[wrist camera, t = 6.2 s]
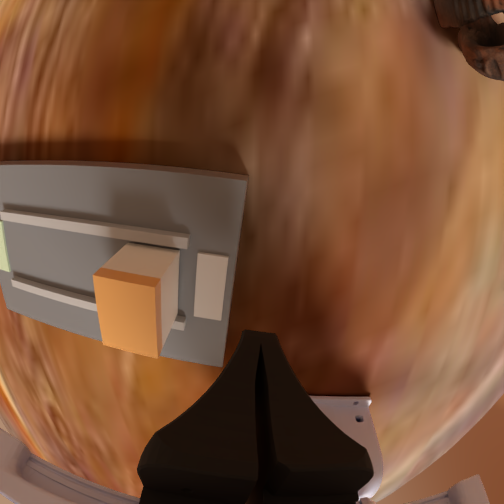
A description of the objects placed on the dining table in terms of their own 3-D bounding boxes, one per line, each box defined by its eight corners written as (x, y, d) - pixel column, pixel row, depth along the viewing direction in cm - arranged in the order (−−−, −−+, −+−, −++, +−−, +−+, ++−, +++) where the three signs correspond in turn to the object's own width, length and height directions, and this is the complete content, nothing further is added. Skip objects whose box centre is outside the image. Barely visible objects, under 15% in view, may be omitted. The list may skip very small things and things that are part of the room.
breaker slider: (179, 250, 15) (154, 287, 12) (177, 313, 17) (158, 358, 13) (127, 242, 15) (92, 275, 12) (130, 303, 17) (103, 345, 13)
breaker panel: (248, 175, 16) (246, 183, 13) (225, 348, 20) (221, 373, 18) (2, 160, 16) (-21, 167, 13) (20, 297, 20) (3, 312, 18)
